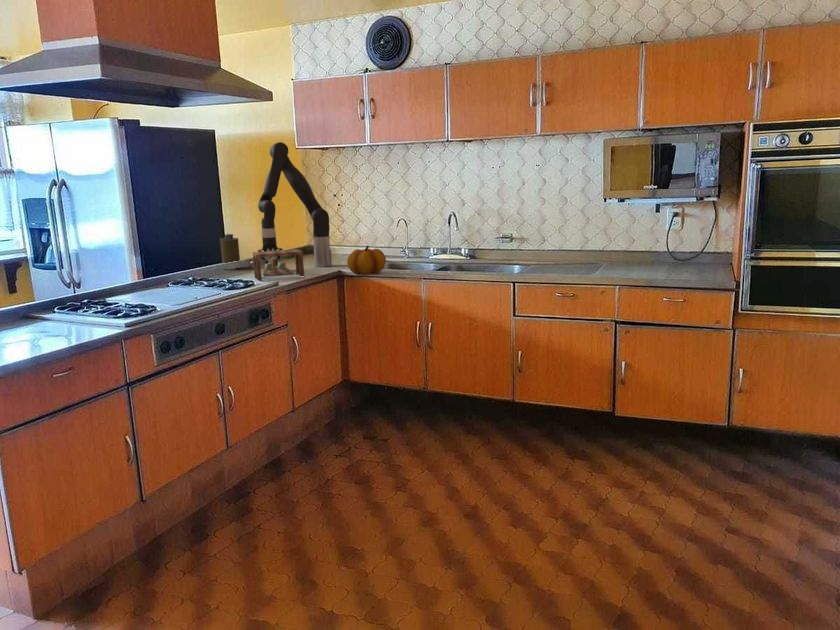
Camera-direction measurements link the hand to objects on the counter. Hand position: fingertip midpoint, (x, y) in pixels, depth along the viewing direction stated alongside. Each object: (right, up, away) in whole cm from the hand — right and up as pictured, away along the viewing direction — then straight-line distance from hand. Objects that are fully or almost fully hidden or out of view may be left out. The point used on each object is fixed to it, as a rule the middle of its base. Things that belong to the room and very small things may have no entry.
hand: (271, 266), depth 372 cm
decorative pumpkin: (+56, -5, -19) cm, 59 cm away
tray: (+3, -4, -6) cm, 7 cm away
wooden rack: (+10, -7, -24) cm, 27 cm away
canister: (-26, 0, +14) cm, 30 cm away
